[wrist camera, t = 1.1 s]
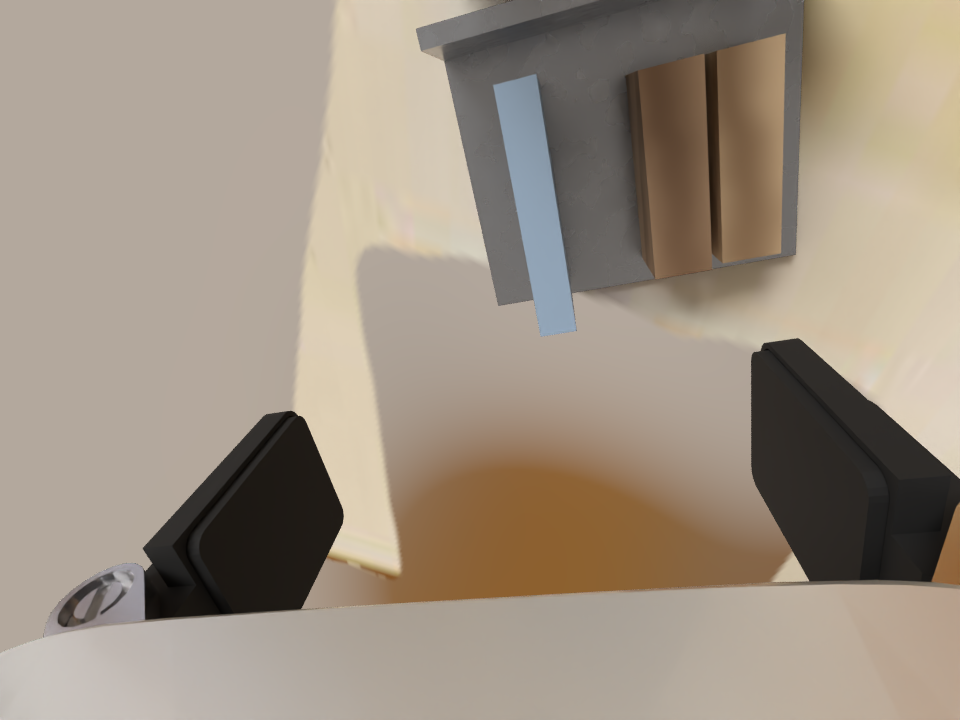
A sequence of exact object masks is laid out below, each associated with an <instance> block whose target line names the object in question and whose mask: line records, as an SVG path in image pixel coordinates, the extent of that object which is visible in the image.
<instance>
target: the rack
mask: <svg viewBox="0 0 960 720" xmlns="http://www.w3.org/2000/svg"><path fill="white" fill-rule="evenodd" d="M803 16H804V0H512V1H509V2H505V3H502V4H499V5H495V6H492V7H488V8H485V9H482V10H478V11H475V12H471V13H468V14H465V15H461V16H458V17H454V18H451V19H448V20H444V21H441V22H437V23H434V24H431V25H427V26H424V27H420V28H417V29H416V32H417V36H418V40H419V44H420V49H421V51H422V52H424V53H427V54H429V55H431V56H434V57H436V58H438V59H440V60H443V61H444V62H445V66H446V71H447V75H448V80H449V84H450V89H451V93H452V98H453V102H454V107H455V112H456V116H457V121H458V125H459V130H460V134H461V139H462V143H463V148H464V152H465V157H466V161H467V166H468V170H469V175H470V179H471V184H472V189H473V193H474V198H475V202H476V207H477V211H478V216H479V220H480V225H481V229H482V234H483V238H484V243H485V247H486V252H487V256H488V261H489V266H490V270H491V275H492V279H493V284H494V288H495V292H496V297H497V302H498V305H499V306H500V305H505V304H512V303H518V302H523V301H529V300H534V298H533V293H532V288H531V282H530V277H529V272H528V266H527V261H526V256H525V251H524V245H523V240H522V235H521V229H520V224H519V219H518V214H517V208H516V203H515V198H514V192H513V187H512V182H511V177H510V171H509V166H508V161H507V156H506V150H505V145H504V140H503V134H502V129H501V124H500V119H499V113H498V108H497V103H496V97H495V92H494V87H493V85H496V84H500V83H503V82H507V81H511V80H515V79H519V78H523V77H526V76H530V75H534V74H536V75H537V77H538V80H539V83H540V90H541V96H542V103H543V109H544V115H545V122H546V128H547V135H548V141H549V147H550V154H551V160H552V167H553V173H554V180H555V186H556V192H557V199H558V205H559V212H560V218H561V225H562V231H563V237H564V244H565V250H566V257H567V263H568V269H569V276H570V282H571V290H572V293H576V292H581V291H587V290H593V289H599V288H605V287H610V286H616V285H622V284H628V283H634V282H639V281H645V280H651V279H655V278H654V276H653V275H652V273H651V271H650V270H649V268H648V266H647V265H646V263H645V262H644V260H643V258H642V248H641V237H640V227H639V216H638V205H637V195H636V184H635V173H634V162H633V152H632V141H631V130H630V120H629V109H628V98H627V87H626V77H625V75H628V74H630V73H633V72H635V71H638V70H641V69H645V68H649V67H653V66H657V65H661V64H665V63H669V62H673V61H677V60H681V59H685V58H689V57H693V56H697V55H701V54H704V55H705V54H709V53H712V52H715V51H718V50H722V49H726V48H730V47H734V46H738V45H741V44H745V43H749V42H753V41H757V40H761V39H765V38H769V37H773V36H777V35H781V34H785V33H786V36H785V84H784V132H783V180H782V229H781V253H780V254H774V255H768V256H763V257H757V258H751V259H745V260H740V261H734V262H728V263H722V262H720V261H719V260H718V259H717V258H716V257H715V256H714V255H713V254H712V269H715V268H721V267H726V266H732V265H738V264H744V263H749V262H755V261H761V260H767V259H773V258H778V257H784V256H790V255H796V229H797V199H798V168H799V138H800V107H801V77H802V46H803Z"/></svg>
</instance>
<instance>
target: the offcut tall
mask: <svg viewBox="0 0 960 720" xmlns="http://www.w3.org/2000/svg"><path fill="white" fill-rule="evenodd" d="M625 77H626V87H627V98H628V109H629V120H630V130H631V141H632V152H633V162H634V173H635V184H636V195H637V205H638V216H639V227H640V237H641V248H642V258H643V260H644V262H645V263H646V265H647V266H648V268H649V270H650V271H651V273H652V275H653V276H654V278H655V279H661V278H667V277H673V276H679V275H684V274H690V273H696V272H702V271H708V270H712V249H711V222H710V194H709V166H708V139H707V111H706V84H705V56H704V54H701V55H697V56H693V57H689V58H685V59H681V60H677V61H673V62H669V63H665V64H661V65H657V66H653V67H649V68H645V69H641V70H638V71H635V72H633V73H630V74H628V75H625Z"/></svg>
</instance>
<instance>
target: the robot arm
mask: <svg viewBox="0 0 960 720" xmlns="http://www.w3.org/2000/svg"><path fill="white" fill-rule="evenodd" d="M751 421H752V422H751V432H752V433H751V436H752V437H751V457H752V458H751V462H752V463H751V467H752V475H753V479H754V482H755V485H756V487H757V488H758V490H759V492H760V494H761V496H762V497H763V499H764V501H765V503H766V505H767V506H768V508H769V510H770V512H771V513H772V515H773V517H774V519H775V521H776V522H777V524H778V526H779V527H780V529H781V531H782V533H783V535H784V536H785V538H786V540H787V542H788V544H789V545H790V547H791V549H792V551H793V553H794V554H795V556H796V558H797V560H798V561H799V563H800V565H801V567H802V569H803V570H804V572H805V574H806V576H807V577H808V579H809V581H810V582H771V583H754V584H753V583H752V584H734V585H715V586H697V587H680V588H679V587H678V588H659V589H641V590H622V591H605V592H586V593H568V594H552V595H534V596H517V597H500V598H483V599H466V600H449V601H431V602H414V603H398V604H382V605H365V606H348V607H333V608H332V607H331V608H315V609H301V608H302V606H303V604H304V602H305V600H306V598H307V596H308V594H309V592H310V590H311V588H312V586H313V584H314V582H315V580H316V578H317V576H318V574H319V571H320V569H321V567H322V565H323V563H324V561H325V559H326V557H327V555H328V553H329V551H330V549H331V547H332V545H333V543H334V541H335V539H336V537H337V535H338V532H339V530H340V528H341V526H342V524H343V517H344V514H343V509H342V506H341V504H340V501H339V499H338V496H337V494H336V492H335V489H334V487H333V485H332V482H331V480H330V477H329V475H328V473H327V470H326V468H325V466H324V463H323V461H322V459H321V456H320V454H319V451H318V449H317V447H316V444H315V442H314V440H313V437H312V435H311V432H310V430H309V428H308V425H307V423H306V421H305V419H304V418H303V417H301V416H298V415H297V414H296V413H295V412H293V411H286V412H279V413H272V414H266V415H265V416H263V417H262V419H261V420H260V421H259V422H258V423H257V424H256V425H255V426H254V427H253V428H252V429H251V431H250V432H249V433H248V434H247V435H246V436H245V437H244V438H243V439H242V441H241V442H240V443H239V444H238V445H237V446H236V447H235V448H234V449H233V451H232V452H231V453H230V454H229V455H228V456H227V457H226V458H225V459H224V460H223V461H222V462H221V463H220V465H219V466H218V467H217V468H216V469H215V470H214V471H213V472H212V473H211V474H210V475H209V476H208V478H207V479H206V480H205V481H204V482H203V483H202V484H201V485H200V486H199V487H198V489H197V490H196V491H195V492H194V493H193V494H192V495H191V496H190V497H189V498H188V499H187V500H186V502H185V503H184V504H183V505H182V506H181V507H180V508H179V509H178V510H177V511H176V512H175V514H174V515H173V516H172V517H171V518H170V519H169V520H168V521H167V522H166V523H165V525H164V526H163V527H162V528H161V529H160V530H159V531H158V532H157V533H156V535H154V537H153V538H152V539H151V540H150V541H149V542H148V543H147V544H146V545H145V546H144V547H143V550H144V551H145V553H146V554H147V556H148V558H149V559H150V560H151V562H152V565H151V566H150V567H149V568H148V570H146V571H145V570H144V569H143V567H142V566H140V565H138V564H136V563H124V564H121V565H117V566H113V567H111V568H108V569H106V570H103V571H101V572H99V573H97V574H96V575H94V576H92V577H90V578H89V579H87V580H85V581H84V582H82V583H81V584H80V585H78V586H77V587H76V588H74V589H73V590H72V591H70V592H69V593H68V594H67V595H66V596H65V597H64V598H63V599H62V600H61V601H60V602H59V603H58V604H57V606H56V607H55V608H54V609H53V611H52V612H51V614H50V616H49V618H48V621H47V622H46V626H45V631H44V635H43V638H41V639H37V640H33V641H30V642H28V643H25V644H22V645H19V646H17V647H14V648H12V649H9V650H7V651H4V652H2V653H0V720H960V479H959V478H958V477H957V476H956V475H955V474H954V473H953V472H951V471H950V470H949V469H948V468H947V467H946V466H945V465H944V464H942V463H941V462H940V461H939V460H938V459H937V458H936V457H935V456H933V455H932V454H931V453H930V452H929V451H928V450H927V449H926V448H924V447H923V446H922V445H921V444H920V443H919V442H918V441H917V440H915V439H914V438H913V437H912V436H911V435H910V434H909V433H908V432H906V431H905V430H904V429H903V428H902V427H901V426H900V425H899V424H897V423H896V422H895V421H894V420H893V419H892V418H891V417H890V416H888V415H887V414H886V413H885V412H884V411H883V410H882V409H881V408H879V407H878V406H877V405H876V404H874V403H873V402H871V401H869V400H867V399H866V398H865V397H864V396H863V395H862V394H861V393H860V392H859V391H857V390H856V389H855V388H854V387H853V386H852V385H851V384H850V383H848V382H847V381H846V380H845V379H844V378H843V377H842V376H841V375H840V374H838V373H837V372H836V371H835V370H834V369H833V368H832V367H831V366H830V365H828V364H827V363H826V362H825V361H824V360H823V359H822V358H821V357H819V356H818V355H817V354H816V353H815V352H814V351H813V350H812V349H811V348H809V347H808V346H807V345H806V344H805V343H804V342H803V341H802V340H800V339H798V338H797V339H790V340H783V341H776V342H769V343H764V344H763V345H762V348H761V351H759V352H754V353H753V354H752V359H751Z"/></svg>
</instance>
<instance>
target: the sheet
mask: <svg viewBox="0 0 960 720" xmlns="http://www.w3.org/2000/svg"><path fill="white" fill-rule="evenodd" d="M493 87H494V92H495V97H496V103H497V108H498V113H499V119H500V124H501V129H502V134H503V140H504V145H505V150H506V156H507V161H508V166H509V171H510V177H511V182H512V187H513V192H514V198H515V203H516V208H517V214H518V219H519V224H520V229H521V235H522V240H523V245H524V251H525V256H526V261H527V266H528V272H529V277H530V282H531V288H532V293H533V298H534V303H535V309H536V314H537V319H538V324H539V330H540V335H541V336H547V335H553V334H560V333H566V332H573V331H577V330H576V322H575V314H574V306H573V298H572V290H571V282H570V276H569V269H568V263H567V257H566V250H565V244H564V237H563V231H562V225H561V218H560V212H559V205H558V199H557V192H556V186H555V180H554V173H553V167H552V160H551V154H550V147H549V141H548V135H547V128H546V122H545V115H544V109H543V103H542V96H541V90H540V83H539V80H538V77H537V75H536V74H534V75H530V76H526V77H523V78H519V79H515V80H511V81H507V82H503V83H500V84H496V85H493Z"/></svg>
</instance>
